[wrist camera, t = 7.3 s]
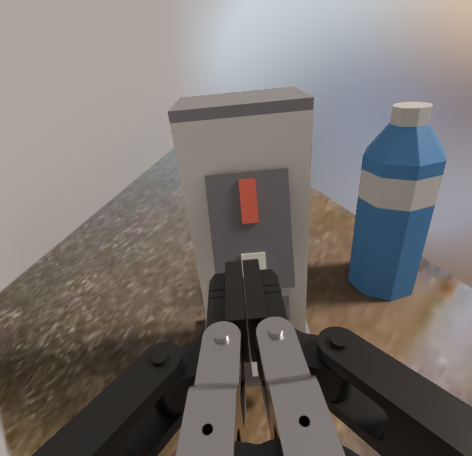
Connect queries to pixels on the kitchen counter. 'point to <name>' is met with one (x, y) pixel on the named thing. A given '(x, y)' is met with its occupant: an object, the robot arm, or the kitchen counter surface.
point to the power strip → (246, 165)
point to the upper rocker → (252, 221)
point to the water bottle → (396, 203)
